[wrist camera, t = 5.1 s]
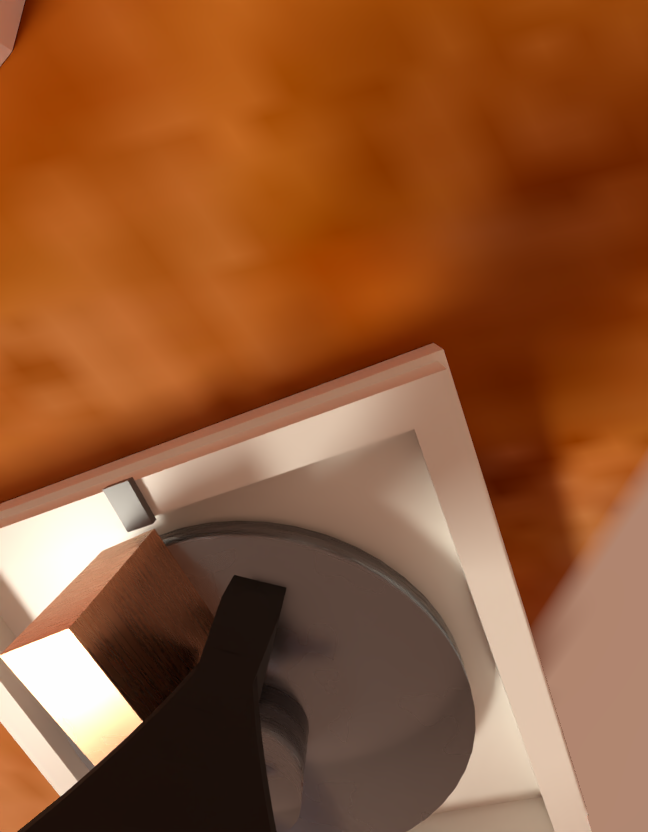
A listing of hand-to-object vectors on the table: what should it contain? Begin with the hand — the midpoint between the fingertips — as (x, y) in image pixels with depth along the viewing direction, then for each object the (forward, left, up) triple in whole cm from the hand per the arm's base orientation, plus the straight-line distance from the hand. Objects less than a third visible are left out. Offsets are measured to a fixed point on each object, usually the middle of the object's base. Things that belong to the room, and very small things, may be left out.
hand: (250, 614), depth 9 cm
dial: (-4, +2, -1) cm, 5 cm away
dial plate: (-4, +2, -3) cm, 5 cm away
